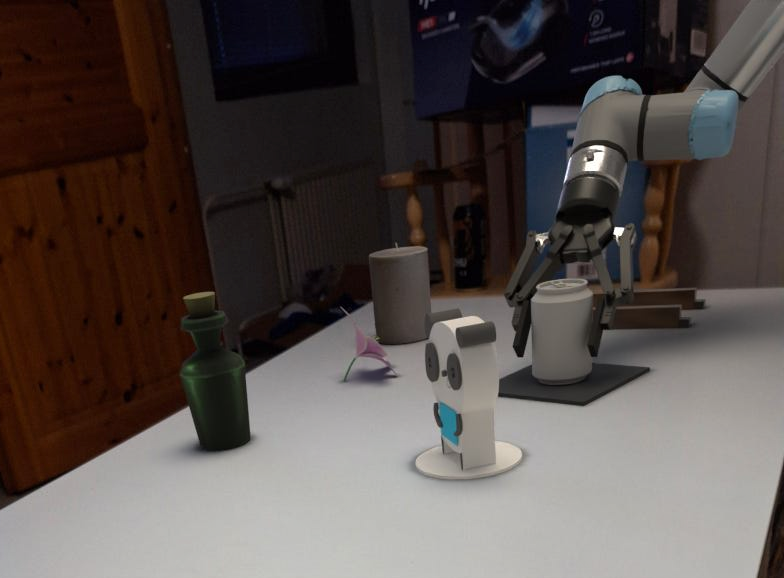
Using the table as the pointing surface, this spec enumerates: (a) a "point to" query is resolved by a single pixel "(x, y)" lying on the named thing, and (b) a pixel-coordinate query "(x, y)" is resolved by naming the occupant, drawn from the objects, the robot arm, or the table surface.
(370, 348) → the lily
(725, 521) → the table surface
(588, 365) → the can
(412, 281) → the pillar candle
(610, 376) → the mat
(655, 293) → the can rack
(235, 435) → the potion bottle
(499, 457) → the panda figurine
